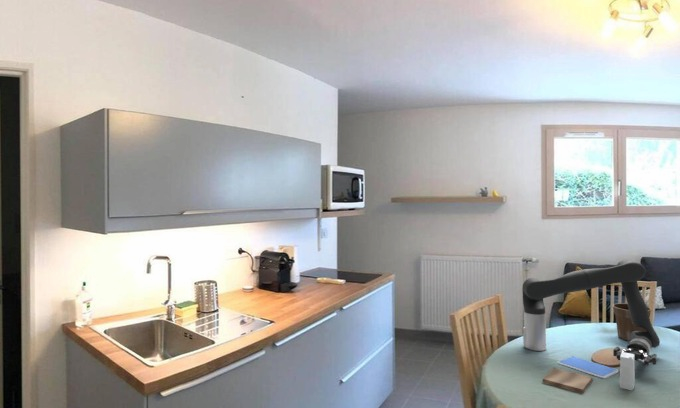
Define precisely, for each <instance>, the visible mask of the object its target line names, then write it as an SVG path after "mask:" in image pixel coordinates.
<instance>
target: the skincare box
mask: <svg viewBox="0 0 680 408" xmlns="http://www.w3.org/2000/svg"><path fill="white" fill-rule="evenodd" d="M635 362H636V360H635V355H634V354H631V353H625V352H622V353H621V356H620V360H619V388H620V389H624V390H629V391H634V387H635V382H636V381H635V379H636V377H635V376H636V375H635V371H636V369H635V368H636V367H635Z"/></svg>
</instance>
